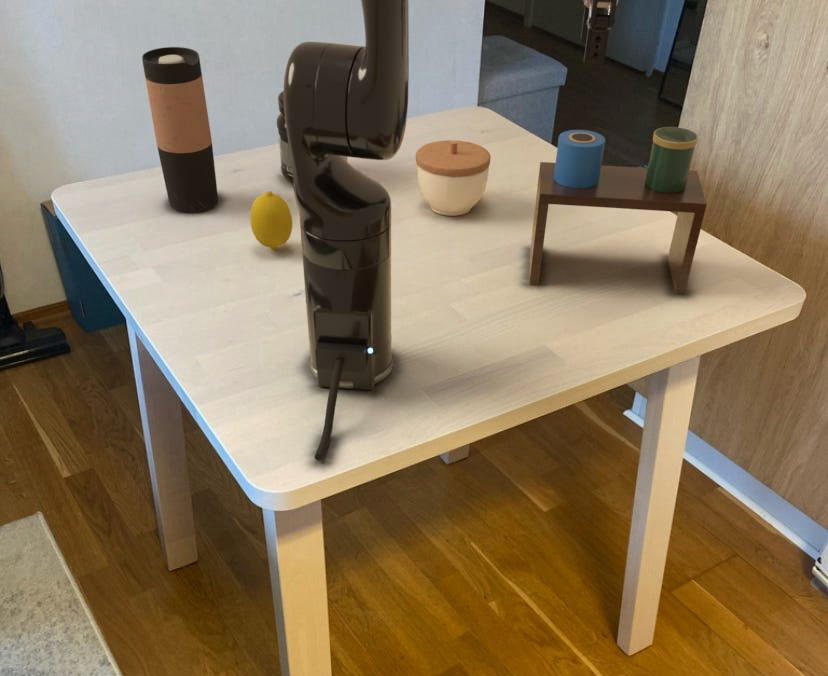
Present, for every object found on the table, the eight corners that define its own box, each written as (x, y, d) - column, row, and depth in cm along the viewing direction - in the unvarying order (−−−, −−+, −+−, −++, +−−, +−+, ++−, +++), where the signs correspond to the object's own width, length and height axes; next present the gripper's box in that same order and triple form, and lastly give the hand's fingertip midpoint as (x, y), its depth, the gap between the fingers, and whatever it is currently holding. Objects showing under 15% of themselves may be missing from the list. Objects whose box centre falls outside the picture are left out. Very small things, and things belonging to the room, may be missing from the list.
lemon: (287, 261, 120) (282, 202, 114) (248, 256, 121) (241, 198, 115) (299, 242, 124) (295, 185, 118) (261, 238, 125) (255, 181, 119)
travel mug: (163, 196, 134) (136, 49, 120) (213, 189, 136) (193, 44, 122) (173, 217, 129) (146, 66, 115) (225, 209, 131) (205, 60, 117)
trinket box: (490, 195, 136) (495, 131, 129) (482, 226, 129) (486, 160, 122) (421, 189, 137) (422, 125, 131) (408, 219, 130) (409, 153, 123)
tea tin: (688, 194, 109) (700, 144, 104) (645, 192, 109) (655, 141, 105) (684, 177, 112) (695, 127, 108) (642, 175, 113) (652, 125, 108)
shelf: (684, 294, 115) (707, 203, 107) (529, 284, 116) (539, 193, 108) (676, 258, 122) (697, 170, 114) (530, 249, 124) (540, 161, 115)
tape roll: (599, 190, 109) (606, 147, 106) (553, 187, 110) (559, 144, 106) (597, 171, 113) (604, 130, 110) (553, 169, 114) (558, 127, 110)
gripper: (576, -134, 96) (557, 35, 107) (581, -110, 85) (559, 73, 97) (647, -131, 95) (620, 37, 107) (660, -107, 85) (629, 76, 96)
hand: (591, 54), depth 102 cm, fingers open, 8 cm apart
